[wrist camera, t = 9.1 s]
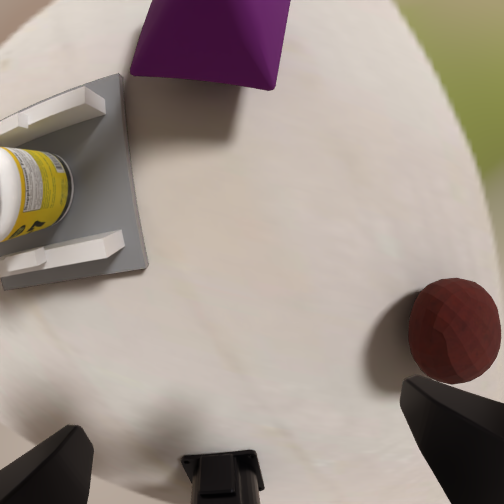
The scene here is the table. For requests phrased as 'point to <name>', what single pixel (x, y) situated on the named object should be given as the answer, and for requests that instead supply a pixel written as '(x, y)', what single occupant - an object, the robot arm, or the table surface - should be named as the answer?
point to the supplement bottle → (32, 191)
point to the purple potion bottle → (213, 41)
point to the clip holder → (79, 188)
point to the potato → (454, 330)
